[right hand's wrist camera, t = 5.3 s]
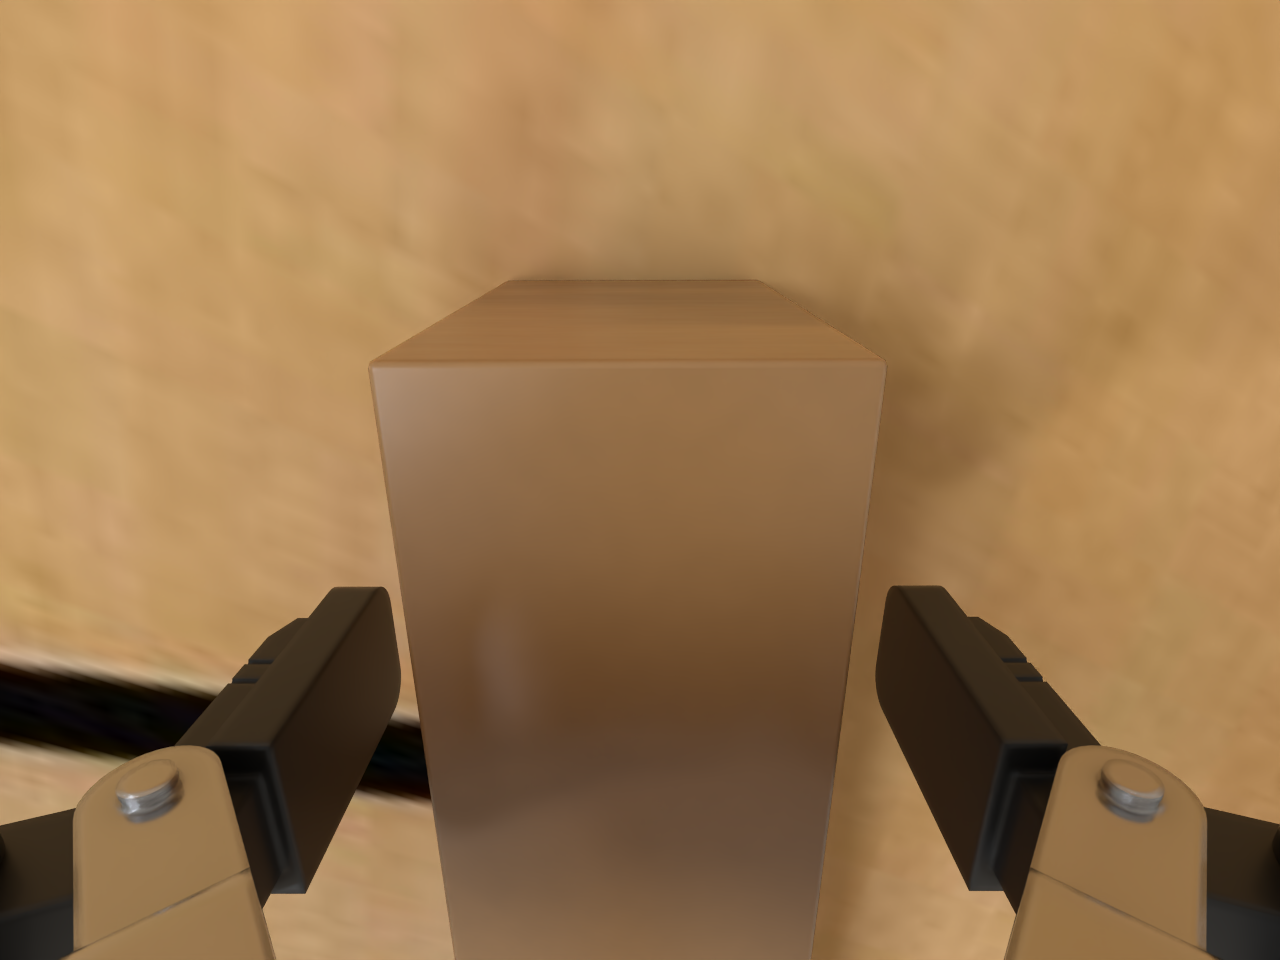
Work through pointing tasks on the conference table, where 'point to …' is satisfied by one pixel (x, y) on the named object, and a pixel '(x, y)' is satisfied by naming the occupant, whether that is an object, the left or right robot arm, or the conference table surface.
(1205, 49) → the conference table surface
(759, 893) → the bar
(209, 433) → the conference table surface
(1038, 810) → the right robot arm
